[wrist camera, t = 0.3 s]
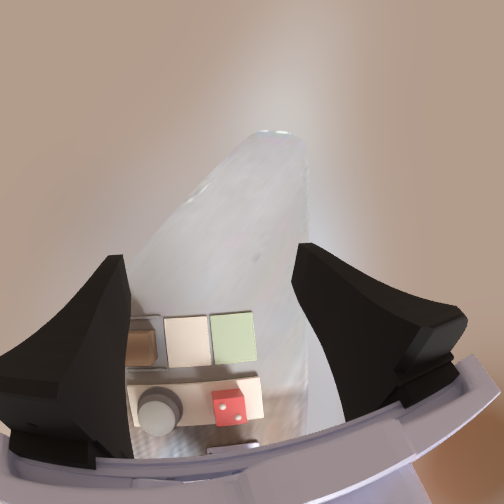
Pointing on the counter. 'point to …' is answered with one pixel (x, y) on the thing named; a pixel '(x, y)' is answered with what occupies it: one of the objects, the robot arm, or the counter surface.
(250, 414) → the game board
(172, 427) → the dome
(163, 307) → the counter surface
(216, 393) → the die
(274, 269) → the counter surface
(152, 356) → the brown block
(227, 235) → the counter surface
